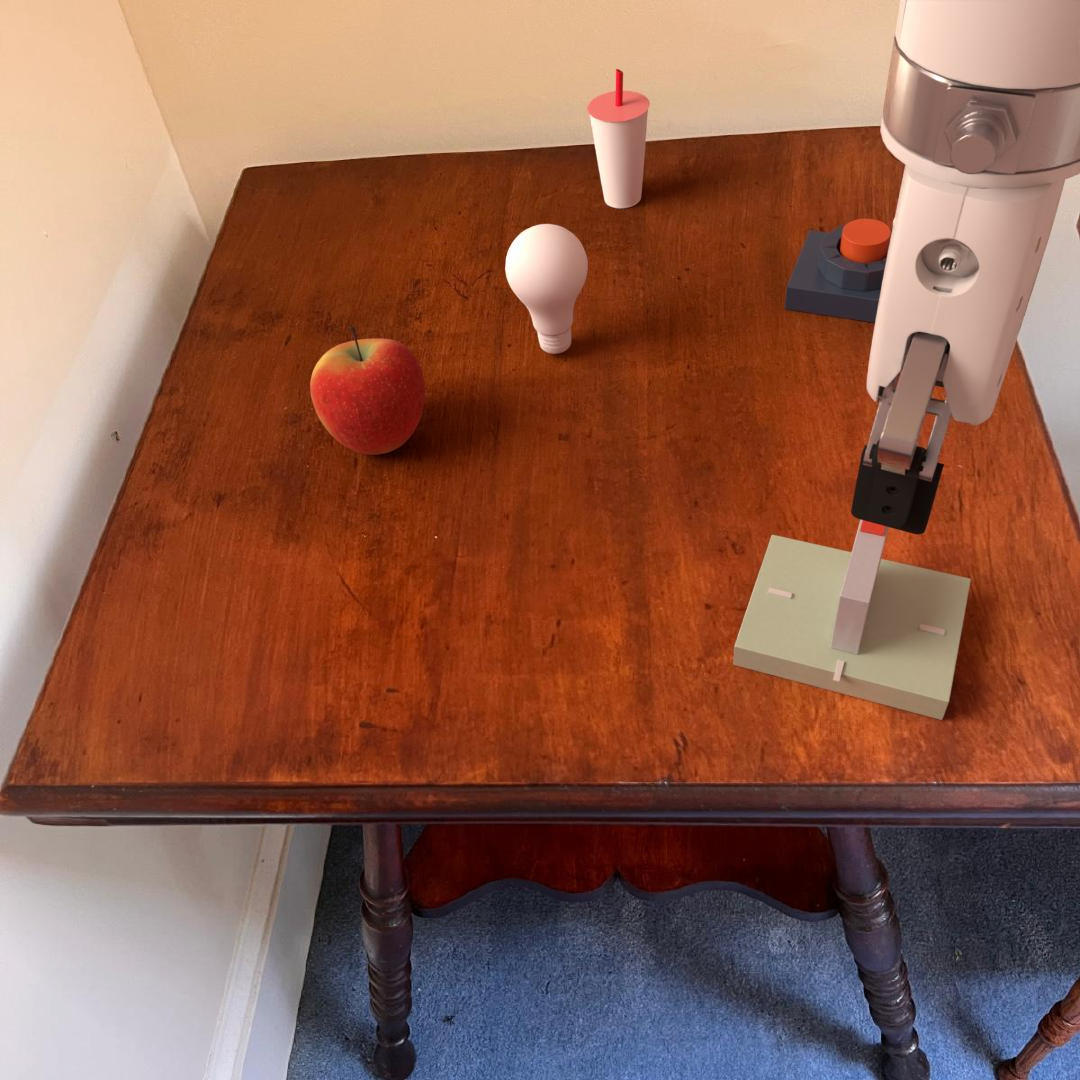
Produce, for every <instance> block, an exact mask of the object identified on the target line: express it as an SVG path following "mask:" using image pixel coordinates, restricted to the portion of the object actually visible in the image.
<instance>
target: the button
mask: <svg viewBox="0 0 1080 1080" xmlns="http://www.w3.org/2000/svg"><path fill="white" fill-rule="evenodd" d="M844 225H845V226H844V228H843V231H842V238H841V246H840V253H841V255H842V256H843V257H845V258H847V259H849V260H851V261H854V262H861V263H870V262H876V261H881V260H883V259H884V258H885V257H886V255H887V253H888V248H889V242H890V236H891V230H890V229H891V228H890V226H889V225H887V224H886V223H885V222H883V221H882V220H878V219H875V218H858V219H853V220H851V221H849V222H848V223H846V224H844Z"/></svg>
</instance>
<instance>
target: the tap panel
mask: <svg viewBox="0 0 1080 1080" xmlns="http://www.w3.org/2000/svg"><path fill="white" fill-rule="evenodd" d="M768 541H769V542H768V545H767V548H766V550H765V554H764V557H763V559H762V562H761V565H760V569H759V571H758V574H757V578H756V579H755V583H754V586H753V589H752V592H751V595H750V598H749V601H748V603H747V607H746V610H745V612H744V615H743V616H744V617H743V619H742V622H741V624H740V628H739V631H738V633H737V637H736V639H735V643H734V645H733V659H732V660H733V661H732V663H733V666H737V667H741V668H743V669H748V670H751V671H755V672H758V673H763V674H766V675H769V676H770V675H771V676H774V677H778V678H782V679H785V680H788V681H792V682H796V683H801V684H805V685H808V686H811V687H816V688H819V689H823V690H827V691H831V692H834V693H837V694H841V695H844V696H845V695H846V696H850V697H854V698H855V699H856V698H857V699H861V700H865V701H869V702H872V703H876V704H879V705H882V706H887V707H890V708H894V709H898V710H902V711H906V712H910V713H913V714H916V715H921V716H925V717H928V718H932V719H936V720H939V721H943V719H944V717H945V715H946V711H947V710H948V709H947V708H948V706H949V704H950V700H951V695H952V694H951V693H952V688H953V682H954V676H955V671H956V666H957V660H958V655H959V648H960V645H961V637H962V634H963V633H962V632H963V627H964V621H965V615H966V609H967V604H968V598H969V594H970V593H969V592H970V588H971V581H972V579H971V577H970V578H969V577H966V576H960V575H957V574H952V573H948V572H943V571H939V570H934V569H930V568H925V567H920V566H916V565H911V564H907V563H906V564H905V563H902V562H897V561H893V560H890V559H884V558H882V559H881V563H880V567H879V572H878V576H877V580H876V584H875V588H874V592H873V596H872V600H871V604H870V608H869V612H868V617H867V621H866V625H865V629H864V633H863V637H862V641H861V645H860V649H859V653H858V654H853V653H849V652H845V651H841V650H837V649H833V648H830V644H831V639H832V633H833V628H834V623H835V618H836V612H837V607H838V602H839V597H840V593H841V589H842V585H843V582H844V578H845V574H846V571H847V567H848V563H849V560H850V556H851V552H852V551H848V550H843V549H839V548H835V547H830V546H826V545H820V544H816V543H813V542H807V541H803V540H798V539H794V538H791V537H790V538H789V537H786V536H781V535H776V534H771V535H770V538H769V540H768Z"/></svg>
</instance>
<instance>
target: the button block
mask: <svg viewBox="0 0 1080 1080" xmlns="http://www.w3.org/2000/svg"><path fill="white" fill-rule="evenodd" d="M845 225H846V224H844V225H843V224H842V225H840V226H837V227H836V228H835V229H833V230H831V231H829V232H827V231H819V230H812V229H810V230H808V233H807V235H806V237H805V240H804V243H803V245H802V248H801V250H800V252H799V255H798V258H797V260H796V263H795V265H794V268H793V270H792V273H791V275H790V278H789V280H788V281H787V282H788V283H787V285H786V290H785V303H784V310H788V311H794V312H802V313H807V314H813V315H820V316H827V317H834V318H839V319H848V320H853V321H860V322H868V323H873V324H875V321H876V315H877V309H878V304H879V298H880V292H881V287H882V281H883V276H884V271H885V265H886V260H887V255H888V253H887V255H886V257H885V258H884V259H883V260H881V261H876V262H870V263H861V262H854V261H851V260H849V259H847V258H845V257H843V256H842V255H841V253H840V246H841V238H842V231H843V228H844V226H845ZM892 229H893V228H890V230H891V234H892ZM890 239H891V236H890ZM889 244H890V242H889ZM888 249H889V248H888Z"/></svg>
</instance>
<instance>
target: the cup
mask: <svg viewBox="0 0 1080 1080" xmlns="http://www.w3.org/2000/svg"><path fill="white" fill-rule="evenodd" d="M650 104H651V103H650V100H649V98H648V97H647V96H646V95H644V94H642V93H640V92H636V91H631V90H624V71H622V70H621V69H619V68H615V91H609V92H604V93H602V94H600V95H598V96H595V97H594V98H593V99H591V101H589V103H588V104H587V107H586V109H587V113H588V115H589V120H590V125H591V131H592V137H593V142H594V143H593V144H594V149H595V156H596V161H597V167H598V172H599V178H600V184H601V189H602V194H603V199H604V202H605V204H606V205H607V206H608V207H611V208H614V209H627V208H631V207H634V206H636V205H637V204H639V203H640V202H641V200H642V193H643V183H644V182H643V181H644V167H645V155H646V141H647V130H648V129H647V127H648V116H649V115H648V114H649V113H648V111H649V108H650Z"/></svg>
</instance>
